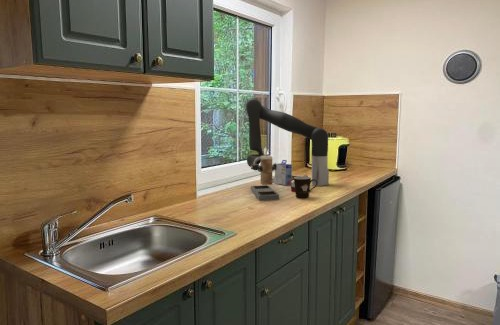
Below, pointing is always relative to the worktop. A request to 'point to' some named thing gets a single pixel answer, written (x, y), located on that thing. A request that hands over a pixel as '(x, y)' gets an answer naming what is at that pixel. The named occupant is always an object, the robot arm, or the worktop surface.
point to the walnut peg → (266, 170)
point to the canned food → (294, 186)
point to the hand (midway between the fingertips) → (267, 168)
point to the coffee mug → (303, 186)
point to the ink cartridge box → (283, 173)
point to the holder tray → (264, 193)
